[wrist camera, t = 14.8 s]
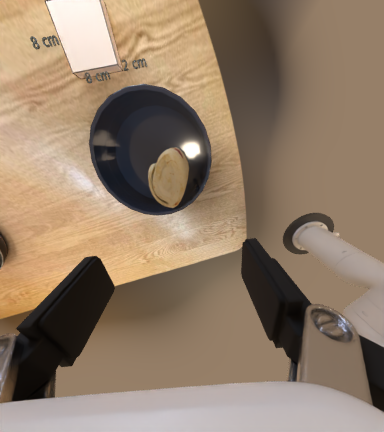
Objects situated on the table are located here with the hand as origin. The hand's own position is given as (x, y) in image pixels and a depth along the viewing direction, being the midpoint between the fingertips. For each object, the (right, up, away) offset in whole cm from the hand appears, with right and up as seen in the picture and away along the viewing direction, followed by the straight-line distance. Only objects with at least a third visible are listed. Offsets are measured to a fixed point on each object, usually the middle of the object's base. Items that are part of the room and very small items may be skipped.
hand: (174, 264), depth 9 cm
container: (-19, +37, +19) cm, 46 cm away
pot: (-7, +19, +28) cm, 35 cm away
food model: (-3, +17, +29) cm, 34 cm away
